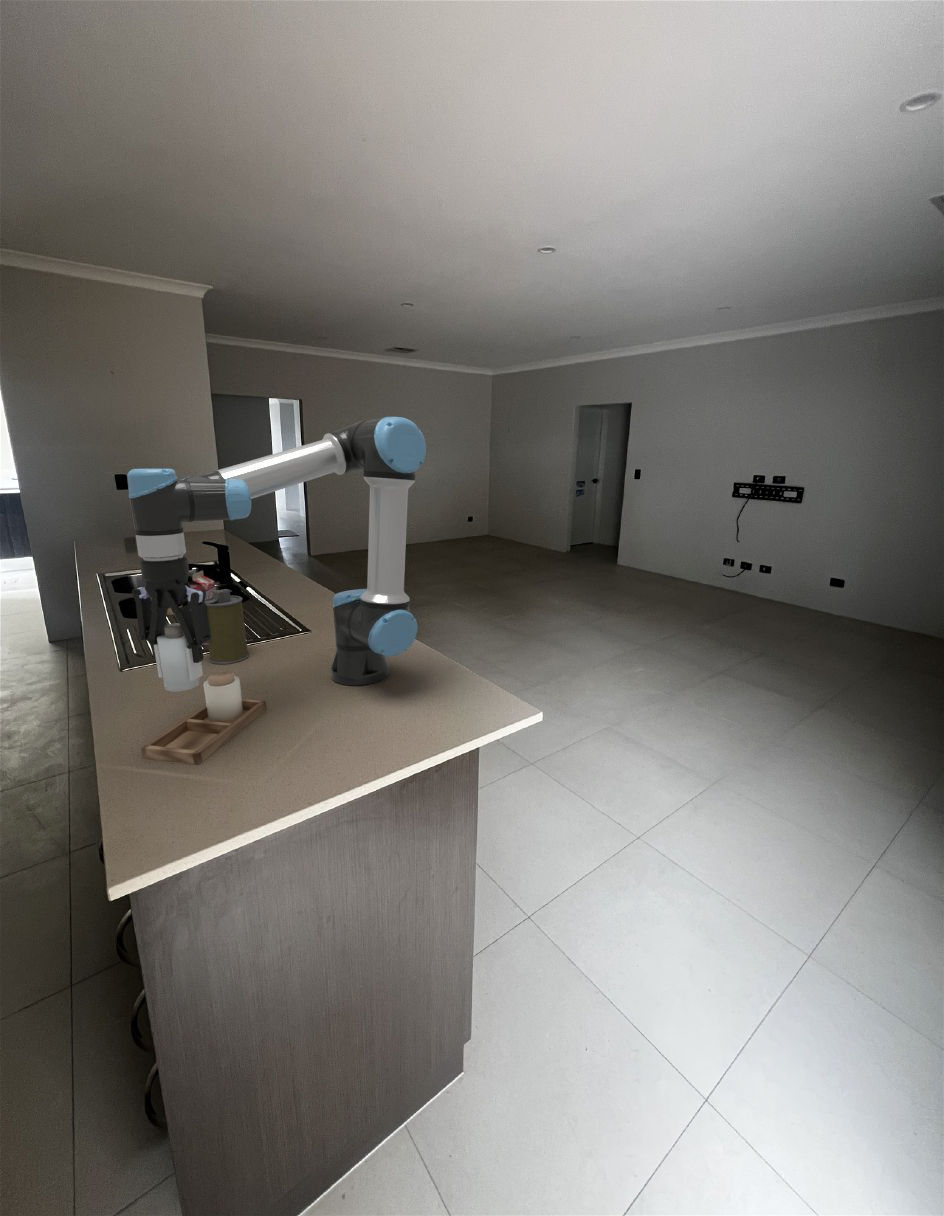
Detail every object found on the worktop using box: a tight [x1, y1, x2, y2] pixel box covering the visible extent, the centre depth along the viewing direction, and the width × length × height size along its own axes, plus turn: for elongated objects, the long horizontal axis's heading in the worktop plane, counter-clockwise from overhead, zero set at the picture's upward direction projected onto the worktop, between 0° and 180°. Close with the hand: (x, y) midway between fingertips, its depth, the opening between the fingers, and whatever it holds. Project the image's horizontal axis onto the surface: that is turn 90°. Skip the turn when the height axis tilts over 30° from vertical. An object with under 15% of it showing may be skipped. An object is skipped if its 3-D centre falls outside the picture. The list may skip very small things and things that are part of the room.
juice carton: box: [187, 570, 216, 646], centre depth 167 cm, size 7×7×22 cm
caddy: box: [140, 698, 268, 766], centre depth 112 cm, size 12×23×3 cm, turn 169°
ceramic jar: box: [203, 671, 244, 723], centre depth 116 cm, size 7×7×10 cm
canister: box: [205, 588, 250, 665], centre depth 153 cm, size 11×10×20 cm
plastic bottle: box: [157, 622, 201, 693], centre depth 102 cm, size 6×6×12 cm
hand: (180, 676), depth 103 cm, fingers closed on plastic bottle, 6 cm apart
